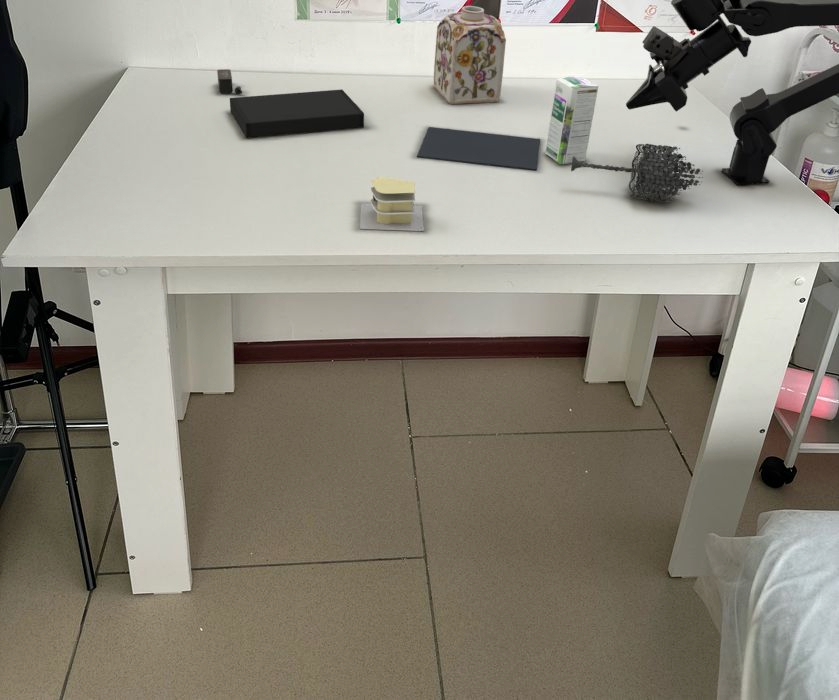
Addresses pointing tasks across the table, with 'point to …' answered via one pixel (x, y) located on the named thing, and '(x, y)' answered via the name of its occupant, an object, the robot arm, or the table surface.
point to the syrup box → (571, 119)
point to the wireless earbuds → (226, 82)
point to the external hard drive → (295, 113)
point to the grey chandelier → (654, 172)
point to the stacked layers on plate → (392, 207)
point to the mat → (480, 148)
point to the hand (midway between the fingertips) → (627, 106)
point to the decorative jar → (469, 57)
